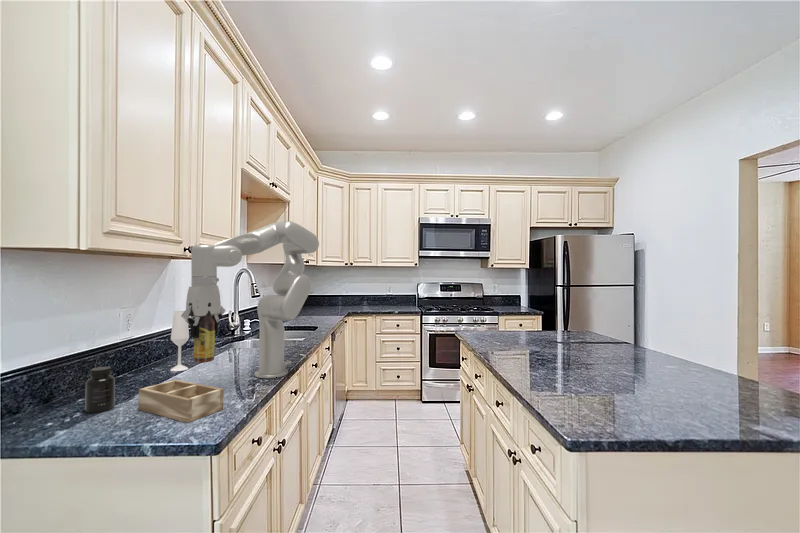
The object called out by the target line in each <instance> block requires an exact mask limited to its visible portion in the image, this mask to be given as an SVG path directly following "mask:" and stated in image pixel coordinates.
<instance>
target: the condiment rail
mask: <svg viewBox="0 0 800 533" xmlns="http://www.w3.org/2000/svg"><path fill="white" fill-rule="evenodd" d="M224 391H225V389H224V388H223V387H216V386H212V385H206V384H200V383H195V382H191V381H185V380H179V379H173V380H170V381H165V382H162V383H157V384H154V385H149V386H145V387H141V388H139V389H138V404H137V405H138V408H137V409H138V410H139V411H142V412H145V413H150V414H153V415H157V416H161V417H164V418H168V419H172V420H176V421H179V422H183V423H187V424H188V423H190V422H193V421H196V420H198V419H202V418H205V417H206V416H210V415H212V414H215V413H217V412H220V411H223V410H224V402H225V401H224V400H225V399H224V395H225V394H224Z"/></svg>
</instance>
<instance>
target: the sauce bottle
mask: <svg viewBox="0 0 800 533" xmlns="http://www.w3.org/2000/svg"><path fill="white" fill-rule="evenodd" d="M210 306H211V303H208V307H210ZM197 325H198V326H199V338H193V360H194V363H200V364H203V363H204V364H205V363H209V362H213V361H214V360H215V350H216V349H215V348H216V347H215V346H216V345H215V344H216V339H215V338H216V335H215V321H214V319H213V318H212V315H211V313H210V311H208V313H207V314H206V315H205V316H203V317H200V319H199V321H198V324H197Z"/></svg>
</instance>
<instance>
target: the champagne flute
mask: <svg viewBox="0 0 800 533" xmlns="http://www.w3.org/2000/svg"><path fill="white" fill-rule="evenodd" d="M184 311H185V310H178V311H177V310H176V311H173V317H172V326H171V333H170V340H171V342H172V343H174V344H175V345H176V346H177V348H178V349H177V364H176V365H175V366H174V367H172V368H170V370H169V371H171V372H181V371H187V370H188V369H189V367H187V366H185V365H184V364H182V346H183V345H184V344H186V342H187V341H189V339H190V332H189V330H190V329H189V324H188V323H187V322H186V321H185V320H184V319H183V318H182V317H181V315H182V314H183V312H184Z"/></svg>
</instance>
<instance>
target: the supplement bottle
mask: <svg viewBox="0 0 800 533" xmlns="http://www.w3.org/2000/svg"><path fill="white" fill-rule="evenodd" d="M89 373H90V374H89V377H90V378H89V379H87V380H86V381H85V390H84V391H85V392H84V393H85V394H84V395H85V396H84V397H85V399H84V401H85V402H84V403H85V404H84V411H85V412H86V413H88V414H99V413H103V412H107V411H110V410H112V409H113V408H114V407H115V402H116V400H115V399H116V398H115V397H116V377H114V376H113V375H112V367H111V366H98V367H93V368H91V369H90V371H89ZM98 412H99V413H98Z"/></svg>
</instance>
